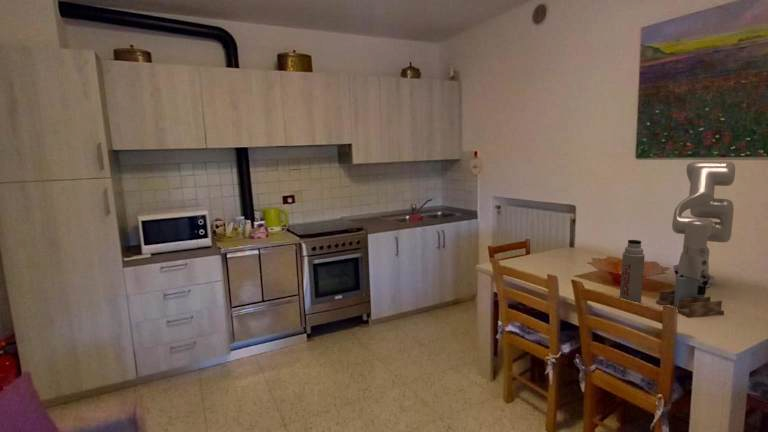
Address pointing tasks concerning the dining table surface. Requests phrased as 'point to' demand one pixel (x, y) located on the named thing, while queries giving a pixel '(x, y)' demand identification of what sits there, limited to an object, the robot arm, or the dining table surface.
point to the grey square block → (685, 289)
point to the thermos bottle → (632, 272)
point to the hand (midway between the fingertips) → (690, 290)
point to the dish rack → (691, 305)
